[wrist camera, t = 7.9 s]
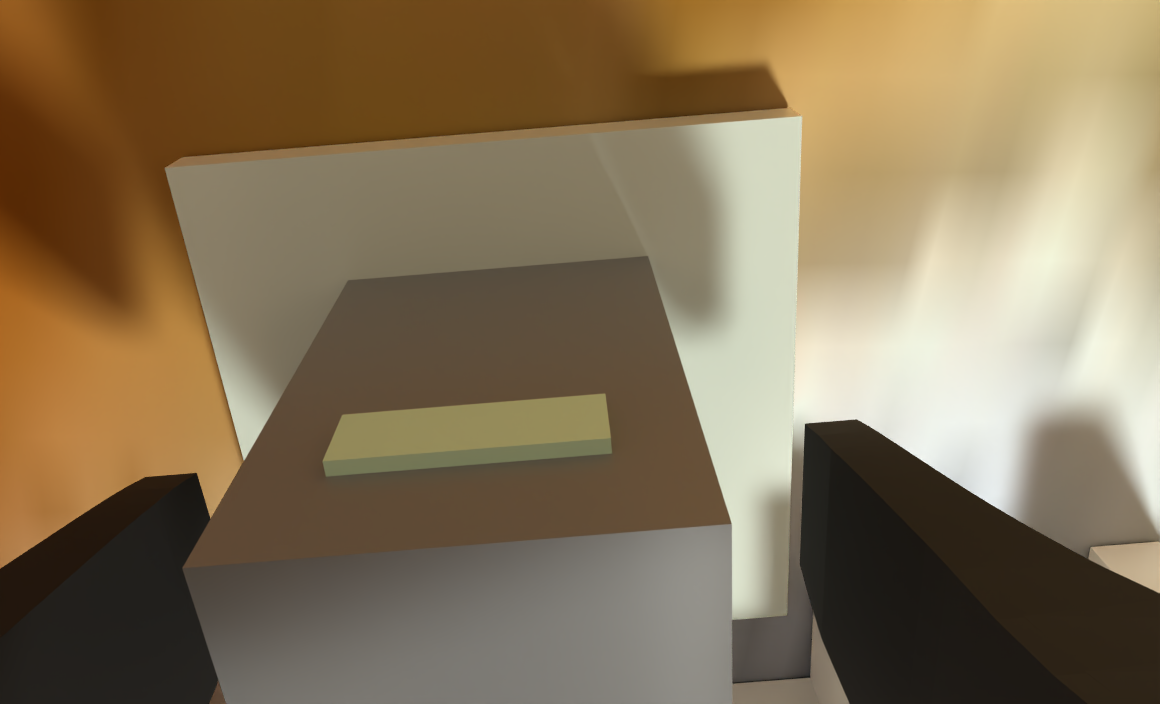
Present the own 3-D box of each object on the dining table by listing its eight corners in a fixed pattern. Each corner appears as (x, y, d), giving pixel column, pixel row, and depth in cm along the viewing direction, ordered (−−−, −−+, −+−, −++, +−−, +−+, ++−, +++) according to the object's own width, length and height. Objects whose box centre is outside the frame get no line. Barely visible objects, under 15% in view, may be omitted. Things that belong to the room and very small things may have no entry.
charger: (666, 675, 15) (733, 1093, 10) (428, 694, 15) (361, 1121, 10) (647, 245, 12) (731, 506, 6) (345, 269, 12) (176, 552, 6)
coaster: (778, 591, 15) (786, 615, 15) (305, 629, 15) (296, 655, 15) (790, 106, 12) (801, 116, 11) (182, 156, 12) (164, 167, 11)
